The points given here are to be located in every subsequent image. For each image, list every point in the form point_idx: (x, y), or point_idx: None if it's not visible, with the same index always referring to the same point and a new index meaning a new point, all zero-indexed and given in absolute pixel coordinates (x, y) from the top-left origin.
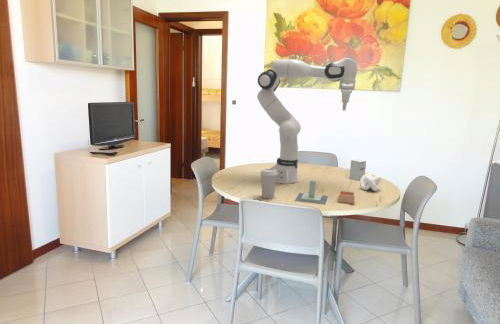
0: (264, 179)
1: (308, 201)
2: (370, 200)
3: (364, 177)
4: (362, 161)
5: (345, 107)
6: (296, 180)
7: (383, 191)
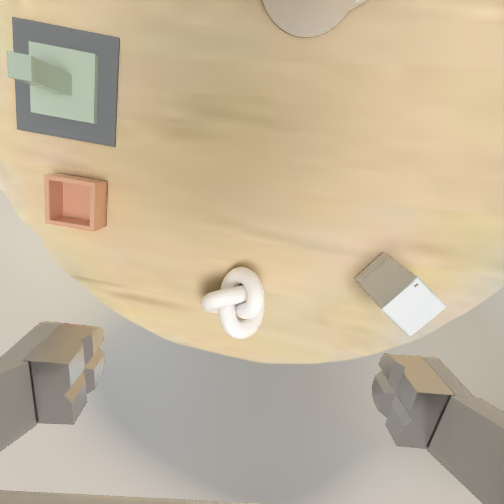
0: None
1: None
2: (121, 271)
3: (246, 290)
4: (393, 319)
5: (7, 412)
6: (282, 23)
7: None
